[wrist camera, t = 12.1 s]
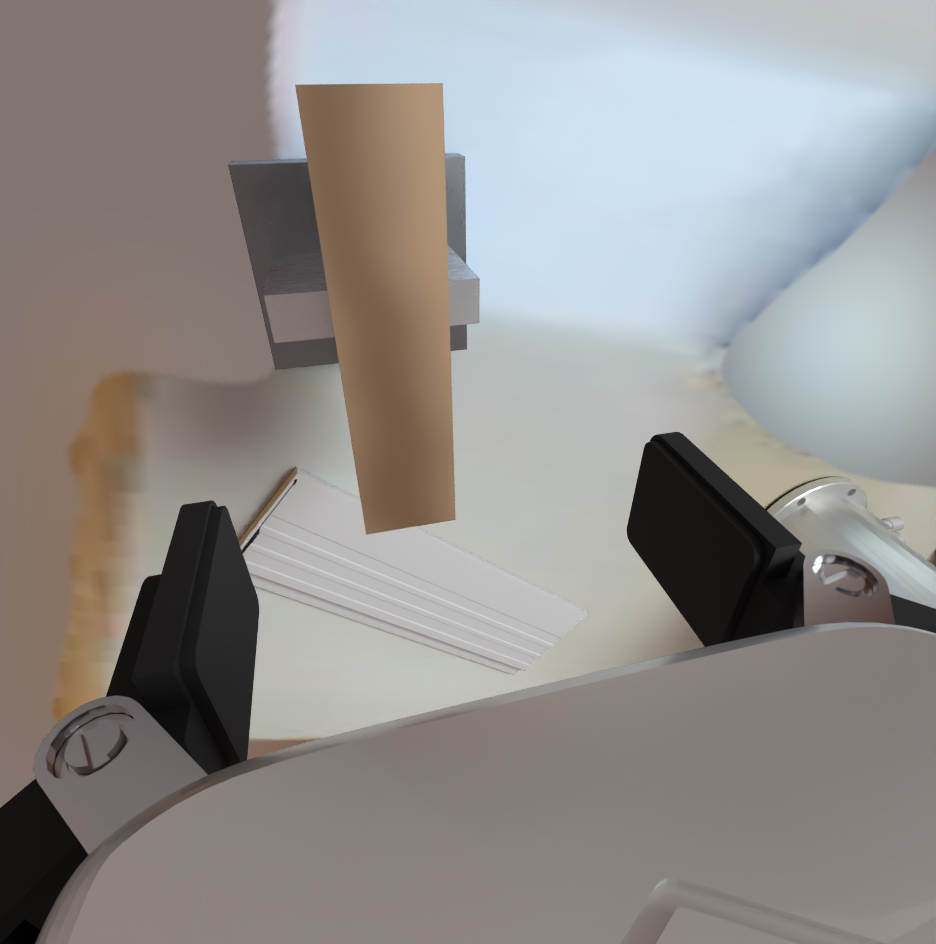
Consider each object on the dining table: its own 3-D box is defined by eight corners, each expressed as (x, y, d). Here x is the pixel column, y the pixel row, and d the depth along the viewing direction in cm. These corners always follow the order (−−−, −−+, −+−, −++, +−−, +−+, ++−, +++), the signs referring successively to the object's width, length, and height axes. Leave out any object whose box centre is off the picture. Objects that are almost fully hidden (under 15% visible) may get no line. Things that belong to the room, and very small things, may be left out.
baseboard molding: (500, 675, 56) (581, 601, 53) (509, 700, 54) (594, 625, 51) (207, 576, 40) (296, 459, 36) (201, 606, 38) (296, 484, 34)
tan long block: (413, 83, 19) (442, 83, 15) (433, 459, 28) (455, 519, 24) (296, 85, 18) (295, 85, 14) (356, 470, 28) (366, 534, 24)
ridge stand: (458, 153, 28) (504, 173, 22) (460, 340, 34) (498, 398, 27) (231, 161, 26) (209, 185, 19) (276, 358, 31) (270, 427, 25)
